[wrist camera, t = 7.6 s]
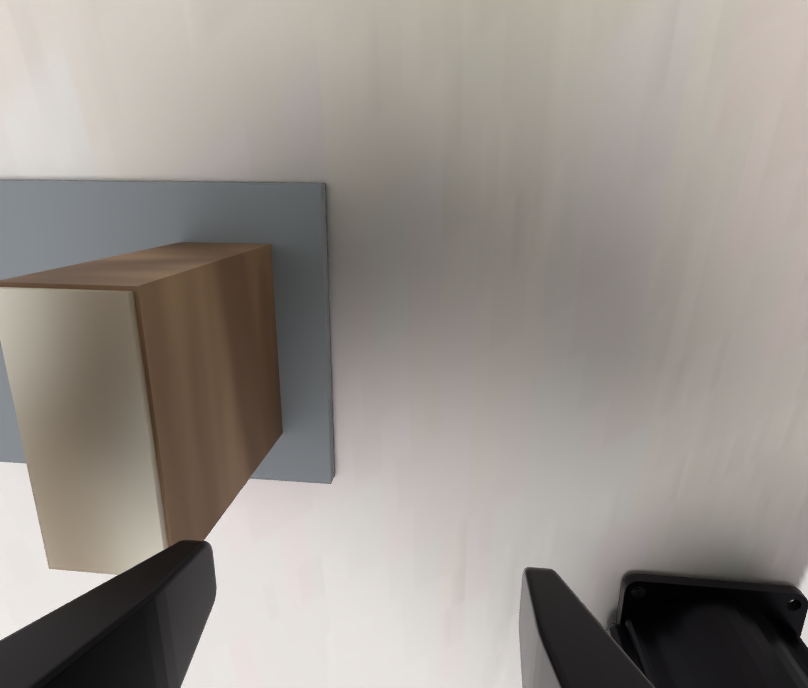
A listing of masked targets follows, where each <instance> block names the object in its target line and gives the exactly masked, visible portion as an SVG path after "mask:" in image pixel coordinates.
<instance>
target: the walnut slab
mask: <svg viewBox="0 0 808 688" xmlns="http://www.w3.org/2000/svg"><path fill="white" fill-rule="evenodd" d="M0 342H1V346H2V351H3V356H4V360H5V365H6V370H7V374H8V379H9V384H10V388H11V393H12V398H13V402H14V407H15V412H16V416H17V421H18V426H19V430H20V435H21V440H22V444H23V449H24V454H25V458H26V463H27V468H28V472H29V477H30V482H31V486H32V491H33V496H34V500H35V505H36V510H37V514H38V519H39V524H40V528H41V533H42V538H43V542H44V547H45V552H46V556H47V561H48V566H49V569H59V570H70V571H81V572H92V573H104V574H115V575H119V574H121V573H123V572H125V571H127V570H128V569H130V568H132V567H134V566H136V565H137V564H139V563H141V562H143V561H145V560H146V559H148V558H150V557H152V556H154V555H155V554H157V553H159V552H161V551H163V550H164V549H166V548H168V547H170V546H172V545H173V544H175V543H177V542H179V541H181V540H198V541H204V539H205V538H206V537H207V535H208V534H209V533H210V531H211V530H212V529H213V527H214V526H215V524H216V523H217V522H218V520H219V519H220V518H221V516H222V515H223V514H224V512H225V511H226V509H227V508H228V507H229V505H230V504H231V503H232V501H233V500H234V499H235V497H236V496H237V495H238V493H239V492H240V490H241V489H242V488H243V486H244V485H245V484H246V482H247V481H248V480H249V478H250V477H251V476H252V474H253V473H254V471H255V470H256V469H257V467H258V466H259V465H260V463H261V462H262V461H263V459H264V458H265V457H266V455H267V454H268V452H269V451H270V450H271V448H272V447H273V446H274V444H275V443H276V442H277V440H278V439H279V438H280V436H281V435H282V433H283V427H282V411H281V395H280V379H279V363H278V347H277V332H276V316H275V300H274V284H273V268H272V252H271V244H255V243H204V242H179V243H174V244H169V245H164V246H160V247H155V248H150V249H145V250H141V251H136V252H131V253H127V254H122V255H117V256H112V257H108V258H103V259H98V260H93V261H89V262H84V263H79V264H75V265H70V266H65V267H60V268H56V269H51V270H46V271H41V272H37V273H32V274H27V275H22V276H18V277H13V278H8V279H4V280H0Z"/></svg>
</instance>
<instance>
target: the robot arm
mask: <svg viewBox="0 0 808 688" xmlns="http://www.w3.org/2000/svg"><path fill="white" fill-rule="evenodd" d="M635 587H641V588H640V589H639V590H632V589H633V588H635ZM215 597H216V577H215V568H214V559H213V551H212V547H211V545H210V544H209V543H208V542H207V541H198V540H181V541H179V542H177V543H175V544H173V545H172V546H170V547H168V548H166V549H164V550H163V551H161V552H159V553H157V554H155V555H154V556H152V557H150V558H148V559H146V560H145V561H143V562H141V563H139V564H137V565H136V566H134V567H132V568H130V569H128V570H127V571H125V572H123V573H121V574H119V575H118V576H116V577H114V578H112V579H110V580H109V581H107V582H105V583H103V584H101V585H100V586H98V587H96V588H94V589H92V590H90V591H89V592H87V593H85V594H83V595H81V596H80V597H78V598H76V599H74V600H72V601H71V602H69V603H67V604H65V605H63V606H62V607H60V608H58V609H56V610H54V611H53V612H51V613H49V614H47V615H45V616H44V617H42V618H40V619H38V620H36V621H35V622H33V623H31V624H29V625H27V626H25V627H24V628H22V629H20V630H18V631H16V632H15V633H13V634H11V635H9V636H7V637H6V638H4V639H2V640H0V688H181V685H182V683H183V680H184V677H185V675H186V672H187V670H188V667H189V665H190V662H191V660H192V657H193V655H194V652H195V650H196V647H197V645H198V642H199V640H200V637H201V635H202V632H203V630H204V627H205V625H206V622H207V619H208V617H209V614H210V612H211V609H212V607H213V604H214V601H215ZM790 600H794V601H792V602H790V603H788V601H790ZM807 610H808V600H807V599H806V597H805V596H804V595H803V594H802V592H801V591H800V590H799V589H797V588H796V587H792V586H782V585H770V584H757V583H745V582H732V581H720V580H707V579H695V578H683V577H670V576H658V575H645V574H631V575H629V576H627V577H626V578H625V579H623V582H622V586H621V593H620V599H619V606H618V613H617V620H616V623H613V624H612V625H611V626H610V627H609V628H608V632H607V631H606V630H605V629H604V627H603V626H602V625H601V624H600V623H599V622H598V620H597V619H596V618H595V617H594V616H593V615H592V613H591V612H590V611H589V610H588V609H587V608H586V606H585V605H584V604H583V603H582V602H581V601H580V599H579V598H578V597H577V596H576V595H575V594H574V592H573V591H572V590H571V589H570V588H569V587H568V585H567V584H566V583H565V582H564V581H563V580H562V578H561V577H560V576H559V575H558V574H557V573H556V572H555V571H554V570H552V569H547V568H534V567H527V568H525V570H524V571H523V577H522V588H521V600H520V612H519V636H520V653H521V669H522V686H523V688H808V648H807V646H806V645H805V643H804V642H803V641H802V639H801V638H800V636H801V632H802V628H803V625H804V620H805V617H806V613H807Z"/></svg>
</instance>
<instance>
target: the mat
mask: <svg viewBox="0 0 808 688" xmlns="http://www.w3.org/2000/svg"><path fill="white" fill-rule="evenodd" d="M179 242H204V243H255V244H271V252H272V268H273V284H274V300H275V316H276V332H277V347H278V363H279V379H280V395H281V411H282V427H283V433H282V435H281V436H280V438H279V439H278V440H277V442H276V443H275V444H274V446H273V447H272V448H271V450H270V451H269V452H268V454H267V455H266V457H265V458H264V459H263V461H262V462H261V463H260V465H259V466H258V467H257V469H256V470H255V471H254V473H253V474H252V476H251V477H250V478H251V479H266V480H281V481H296V482H310V483H325V484H331V483H332V480H333V478H334V476H335V472H334V442H333V411H332V381H331V350H330V320H329V289H328V259H327V228H326V198H325V183H268V182H146V181H24V180H0V280H4V279H8V278H13V277H18V276H22V275H27V274H32V273H37V272H41V271H46V270H51V269H56V268H60V267H65V266H70V265H75V264H79V263H84V262H89V261H93V260H98V259H103V258H108V257H112V256H117V255H122V254H127V253H131V252H136V251H141V250H145V249H150V248H155V247H160V246H164V245H169V244H174V243H179ZM0 462H14V463H26V458H25V454H24V449H23V444H22V440H21V435H20V430H19V426H18V421H17V416H16V412H15V407H14V402H13V398H12V393H11V388H10V384H9V379H8V374H7V370H6V365H5V360H4V356H3V351H2V346H1V342H0Z"/></svg>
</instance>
